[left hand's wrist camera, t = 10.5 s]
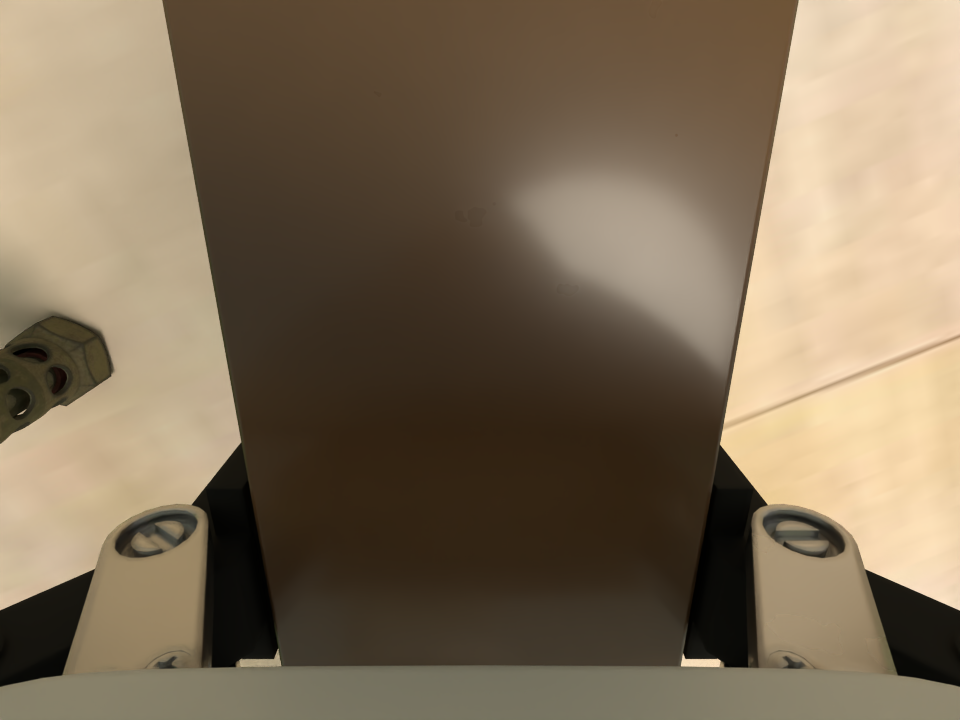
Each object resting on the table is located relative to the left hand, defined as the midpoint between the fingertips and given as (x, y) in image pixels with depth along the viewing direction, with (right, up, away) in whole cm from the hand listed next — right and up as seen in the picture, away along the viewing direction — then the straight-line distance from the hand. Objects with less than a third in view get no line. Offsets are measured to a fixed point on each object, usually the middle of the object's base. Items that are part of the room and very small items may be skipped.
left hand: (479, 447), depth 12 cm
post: (0, +19, -6) cm, 20 cm away
